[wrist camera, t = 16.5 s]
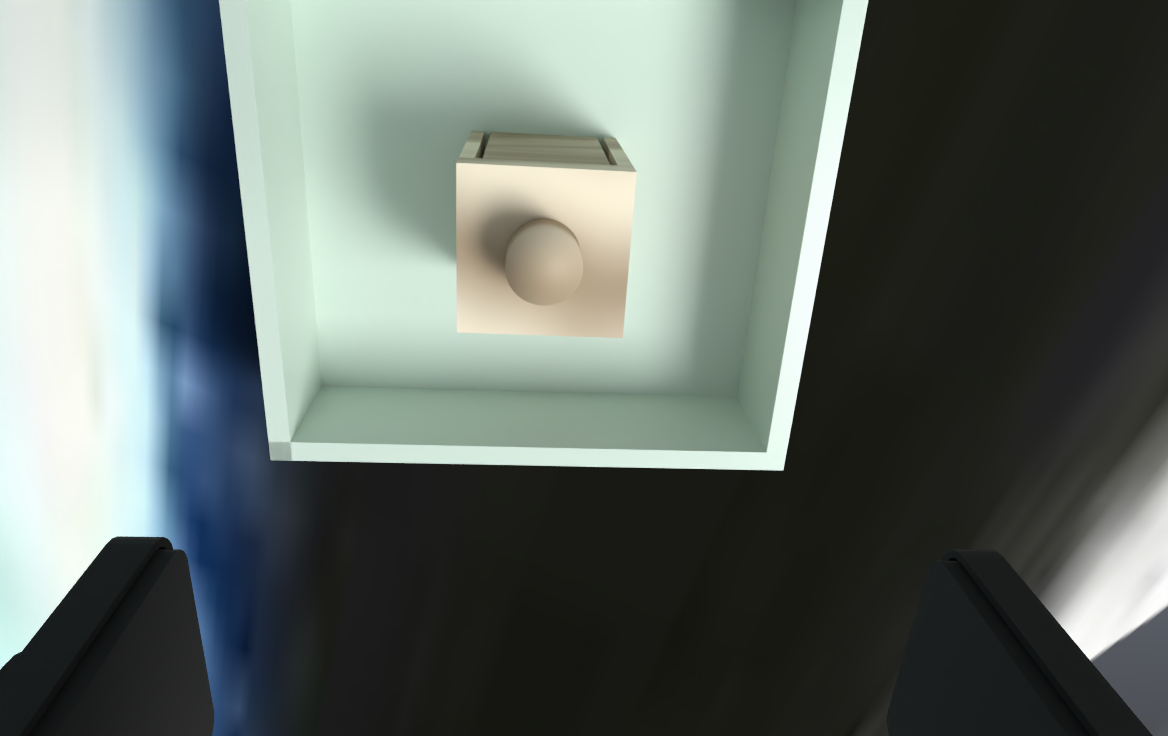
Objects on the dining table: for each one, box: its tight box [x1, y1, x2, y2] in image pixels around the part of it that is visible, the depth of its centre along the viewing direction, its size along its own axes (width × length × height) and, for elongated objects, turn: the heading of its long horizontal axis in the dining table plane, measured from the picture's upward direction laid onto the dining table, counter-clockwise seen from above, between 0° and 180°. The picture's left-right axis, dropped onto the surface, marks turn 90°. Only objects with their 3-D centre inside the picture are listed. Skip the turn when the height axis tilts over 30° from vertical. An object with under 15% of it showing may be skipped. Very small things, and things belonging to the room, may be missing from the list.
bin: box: [219, 0, 868, 470], centre depth 31 cm, size 20×18×6 cm
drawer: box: [456, 131, 637, 338], centre depth 29 cm, size 6×6×8 cm
